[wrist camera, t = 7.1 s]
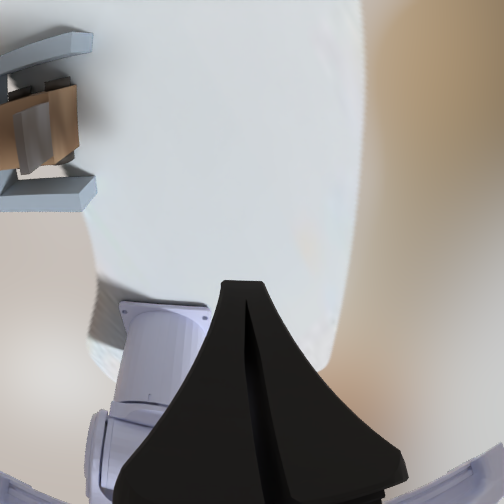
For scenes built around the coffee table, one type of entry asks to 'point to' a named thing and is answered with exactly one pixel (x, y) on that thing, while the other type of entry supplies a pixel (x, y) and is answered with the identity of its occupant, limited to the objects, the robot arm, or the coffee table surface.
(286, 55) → the coffee table surface
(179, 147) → the coffee table surface
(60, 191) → the bay
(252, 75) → the coffee table surface
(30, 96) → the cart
